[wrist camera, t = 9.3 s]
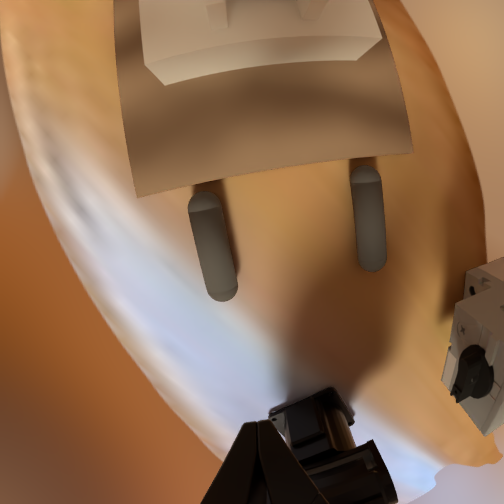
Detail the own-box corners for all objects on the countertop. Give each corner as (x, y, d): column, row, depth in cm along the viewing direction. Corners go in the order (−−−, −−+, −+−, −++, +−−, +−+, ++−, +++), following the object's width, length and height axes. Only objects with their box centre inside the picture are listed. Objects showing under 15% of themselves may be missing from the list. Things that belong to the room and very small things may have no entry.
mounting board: (406, 153, 17) (413, 153, 16) (142, 196, 17) (137, 198, 17) (337, -58, 12) (340, -64, 11) (118, -30, 12) (114, -36, 11)
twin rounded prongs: (379, 263, 19) (392, 272, 17) (212, 296, 20) (208, 309, 18) (370, 163, 17) (384, 163, 15) (187, 193, 18) (181, 196, 16)
